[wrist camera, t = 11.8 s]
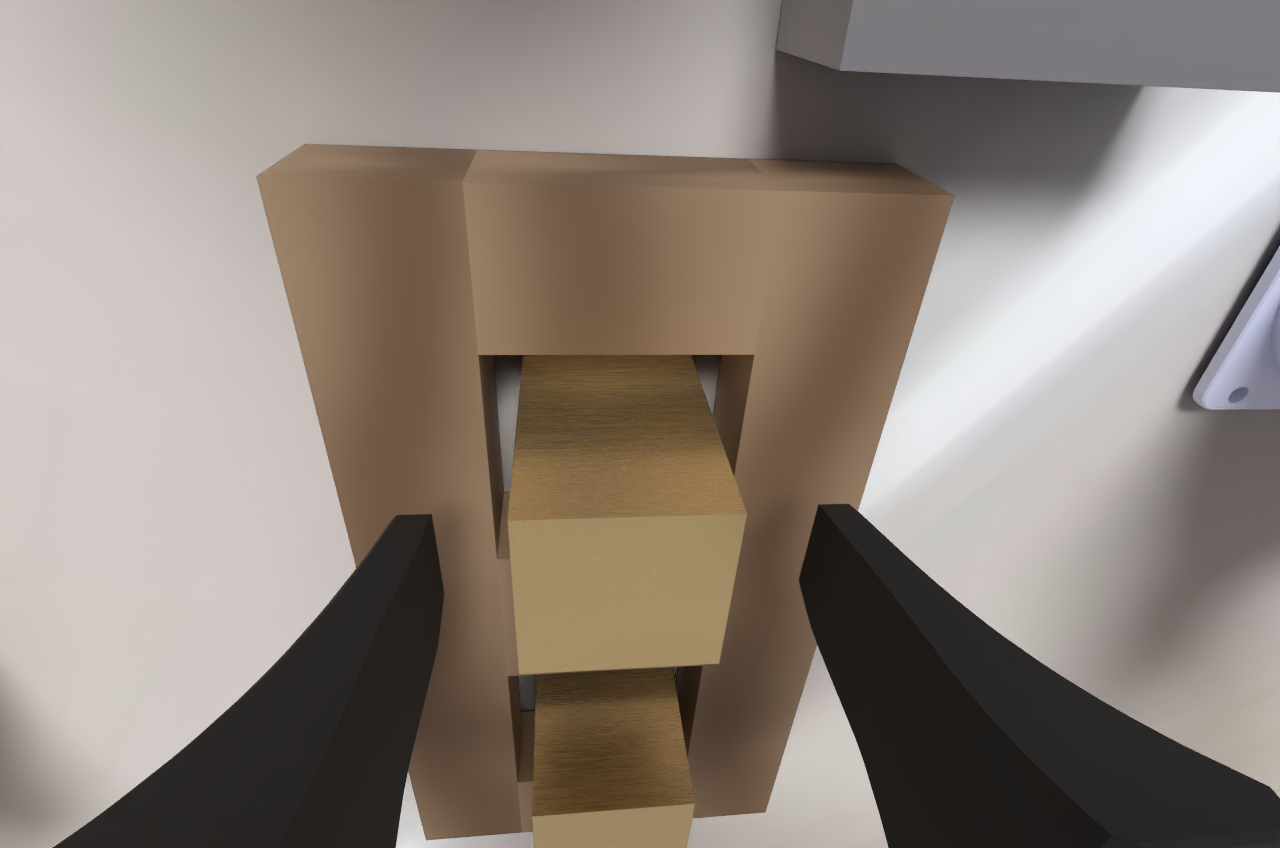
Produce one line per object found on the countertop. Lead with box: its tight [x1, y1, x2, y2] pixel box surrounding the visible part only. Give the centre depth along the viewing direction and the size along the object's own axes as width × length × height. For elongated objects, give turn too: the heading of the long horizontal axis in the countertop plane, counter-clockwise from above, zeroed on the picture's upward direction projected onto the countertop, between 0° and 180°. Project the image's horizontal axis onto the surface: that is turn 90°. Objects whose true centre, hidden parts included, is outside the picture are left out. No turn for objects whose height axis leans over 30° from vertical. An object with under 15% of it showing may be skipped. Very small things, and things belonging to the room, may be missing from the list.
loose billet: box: [508, 355, 747, 674], centre depth 15 cm, size 4×4×6 cm
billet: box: [532, 667, 695, 848], centre depth 20 cm, size 4×4×6 cm
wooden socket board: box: [256, 144, 954, 840], centre depth 19 cm, size 12×22×2 cm, turn 177°
